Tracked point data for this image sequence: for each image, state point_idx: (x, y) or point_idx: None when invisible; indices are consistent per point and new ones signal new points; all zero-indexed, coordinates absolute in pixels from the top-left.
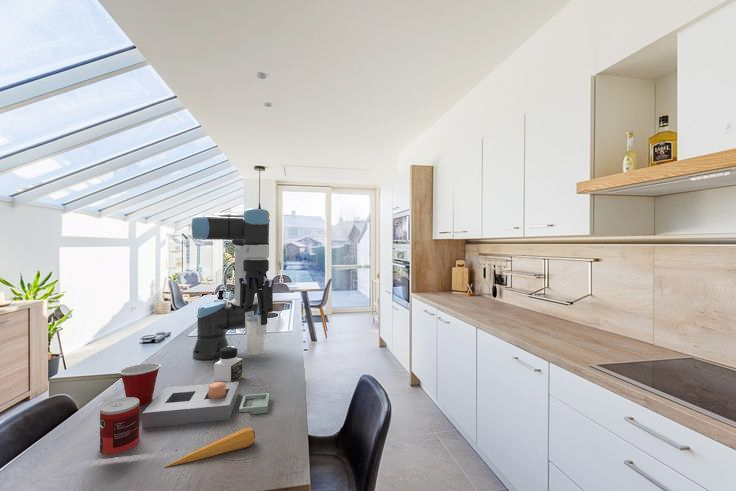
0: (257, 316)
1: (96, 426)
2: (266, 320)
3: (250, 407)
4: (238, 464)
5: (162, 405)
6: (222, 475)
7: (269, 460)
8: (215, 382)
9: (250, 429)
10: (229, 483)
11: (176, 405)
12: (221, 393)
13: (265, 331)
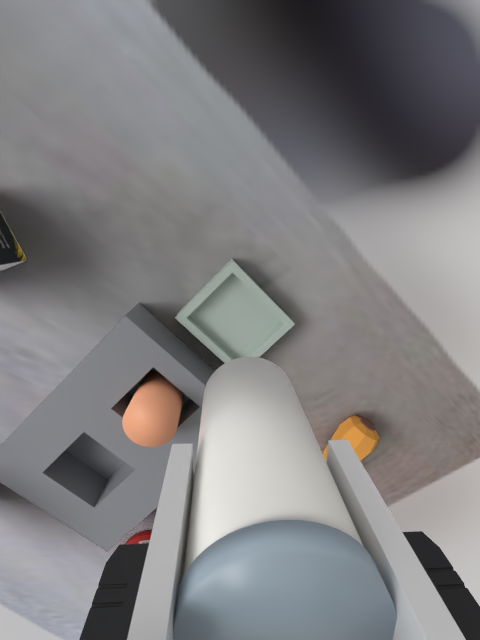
0: (293, 621)
1: (20, 552)
2: (456, 585)
3: (260, 355)
4: (383, 465)
5: (103, 514)
6: (380, 492)
7: (427, 430)
8: (124, 416)
9: (371, 441)
10: (405, 495)
11: (133, 497)
12: (179, 412)
13: (355, 463)
